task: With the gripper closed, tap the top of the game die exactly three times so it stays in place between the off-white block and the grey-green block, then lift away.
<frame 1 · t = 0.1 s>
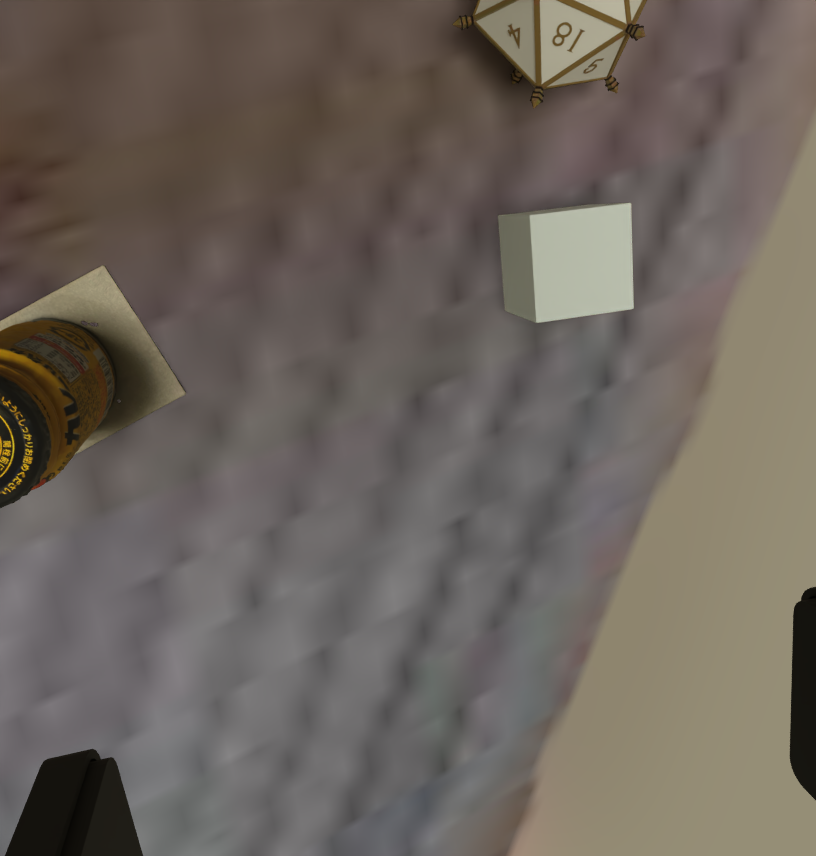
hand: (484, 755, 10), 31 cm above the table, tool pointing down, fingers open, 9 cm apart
game die: (531, 22, 37), on the table
grey-green block: (545, 258, 41), on the table
condiment: (72, 371, 38), on the table
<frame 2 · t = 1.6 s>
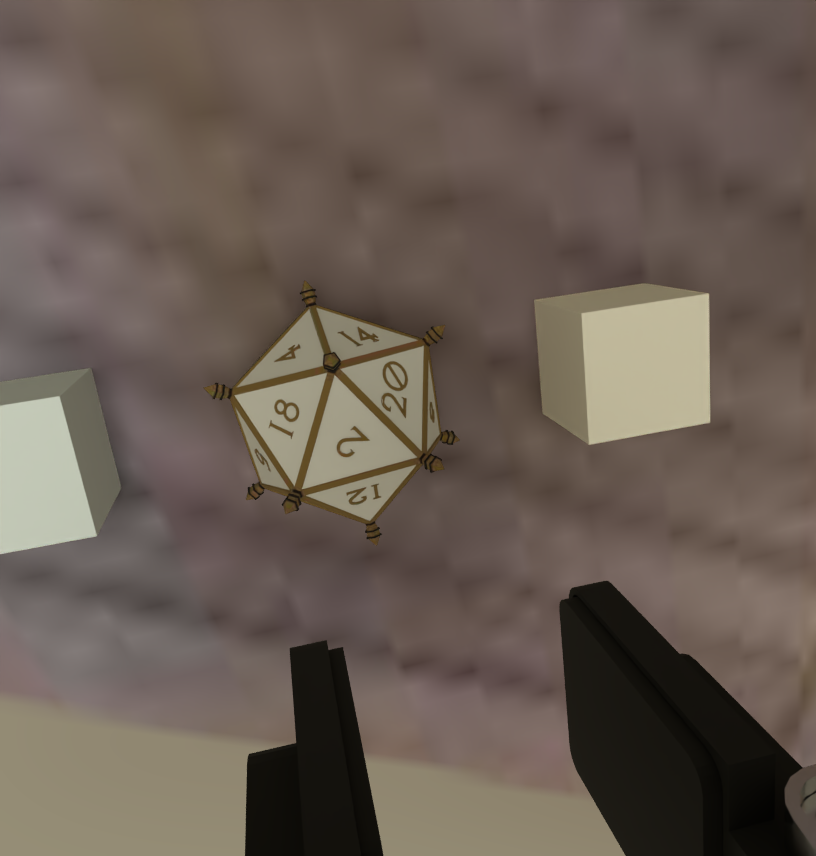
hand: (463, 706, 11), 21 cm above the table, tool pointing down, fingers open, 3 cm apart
game die: (331, 391, 31), on the table
grey-green block: (41, 439, 30), on the table
off-white block: (592, 348, 33), on the table
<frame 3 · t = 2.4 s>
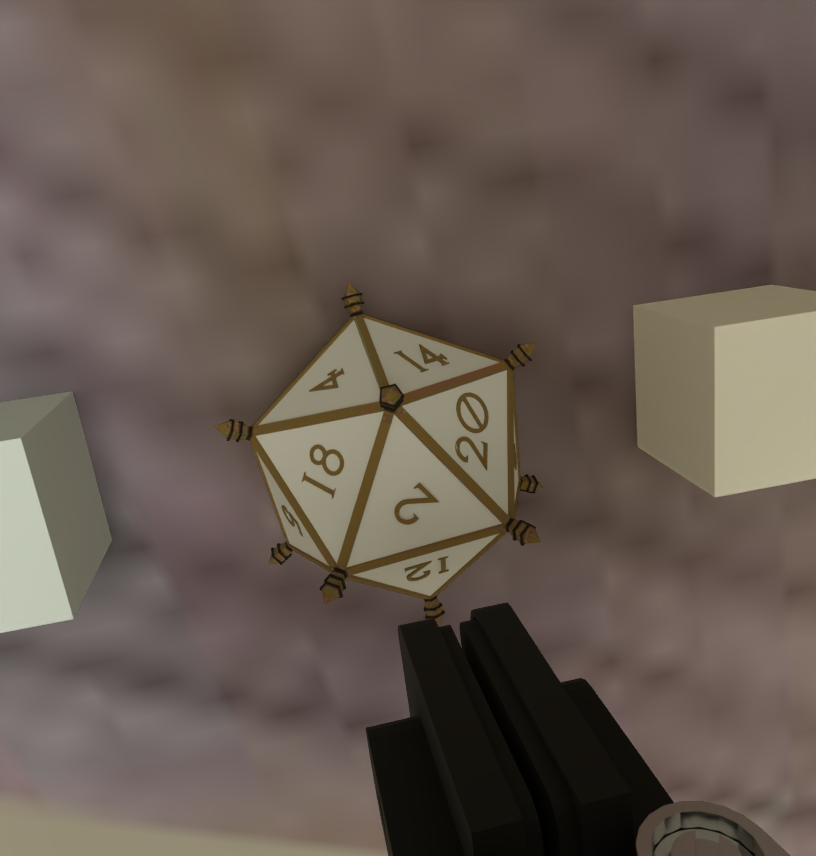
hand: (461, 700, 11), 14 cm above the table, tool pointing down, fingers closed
game die: (375, 419, 25), on the table
grey-green block: (10, 481, 23), on the table
off-white block: (702, 366, 26), on the table
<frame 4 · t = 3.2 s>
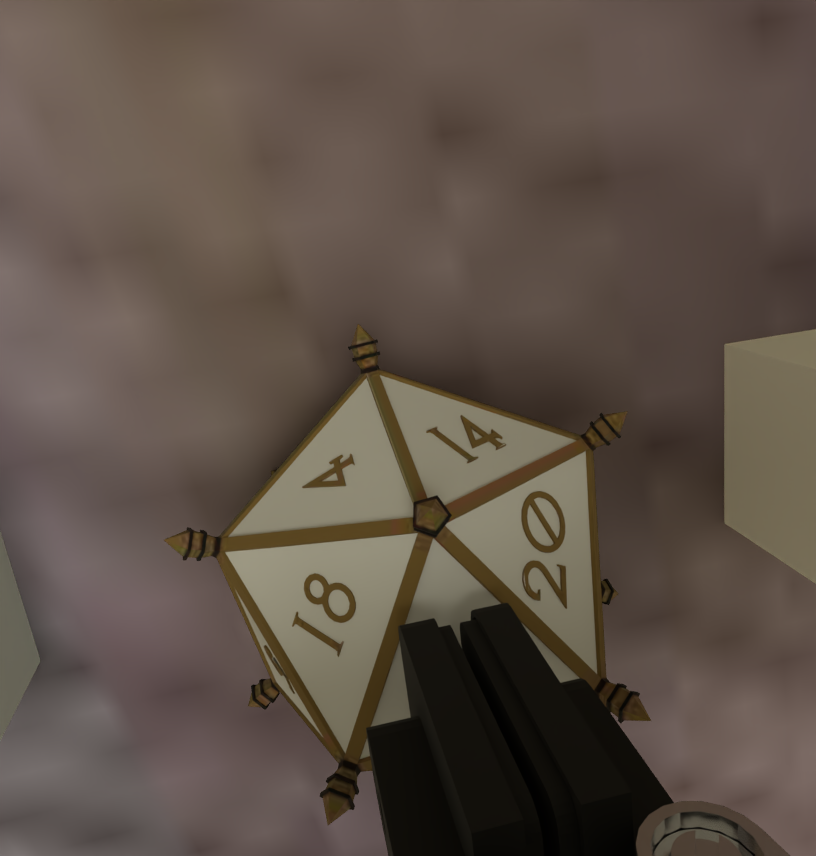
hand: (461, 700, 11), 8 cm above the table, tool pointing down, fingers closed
game die: (390, 495, 19), on the table, touching gripper
off-white block: (807, 420, 20), on the table
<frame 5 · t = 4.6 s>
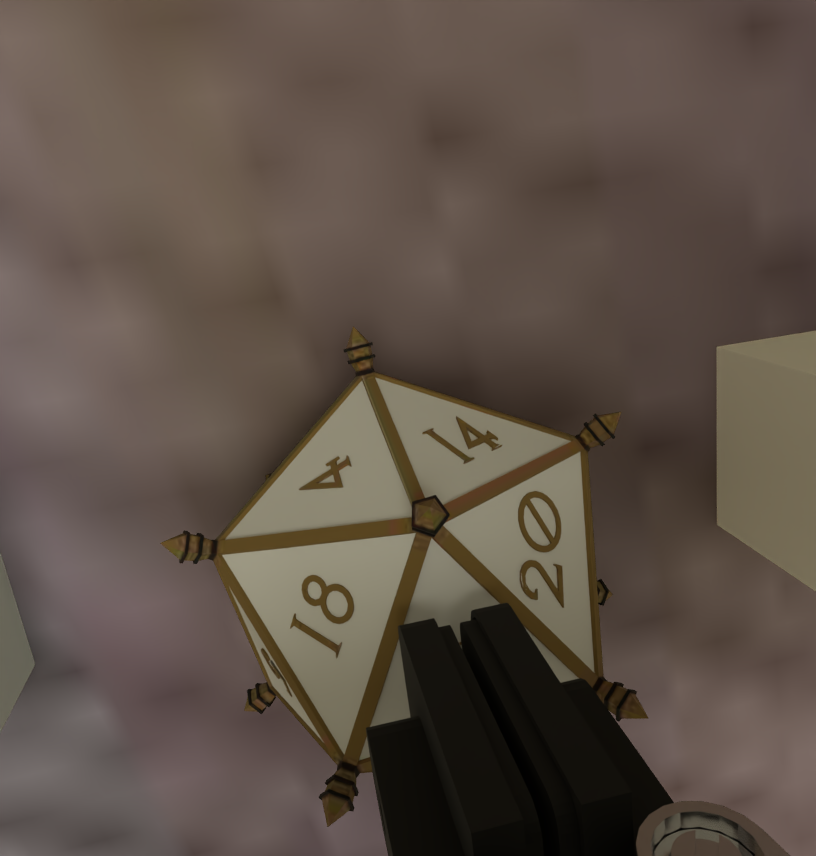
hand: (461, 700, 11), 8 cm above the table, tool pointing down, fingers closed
game die: (384, 499, 19), on the table
off-white block: (799, 422, 21), on the table
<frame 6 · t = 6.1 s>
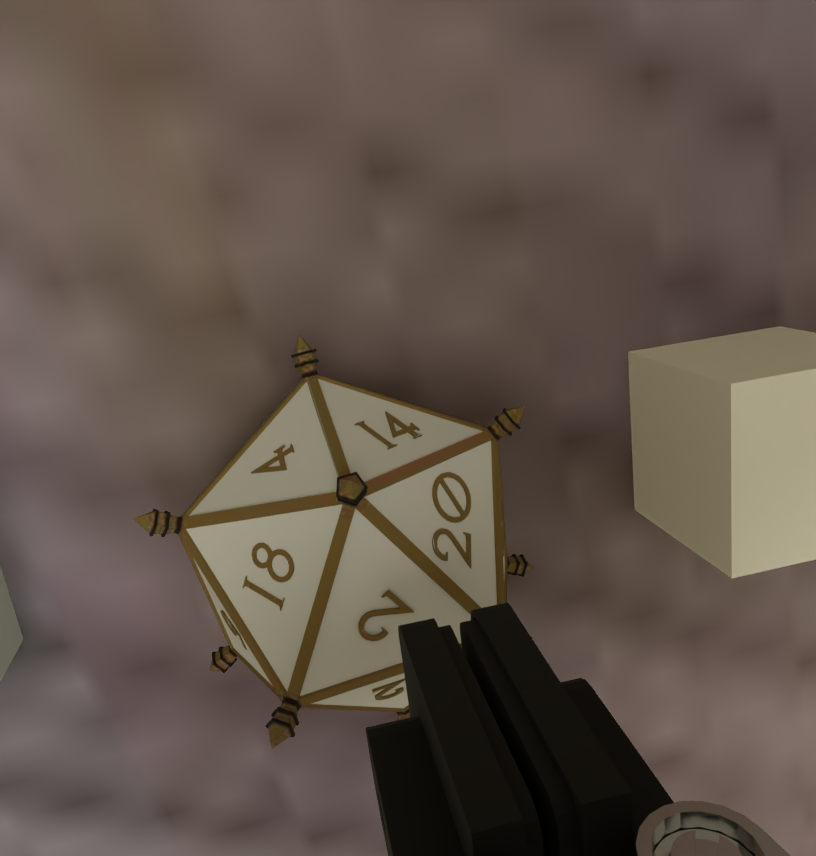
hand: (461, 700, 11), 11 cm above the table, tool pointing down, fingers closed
game die: (336, 488, 21), on the table
off-white block: (704, 418, 23), on the table
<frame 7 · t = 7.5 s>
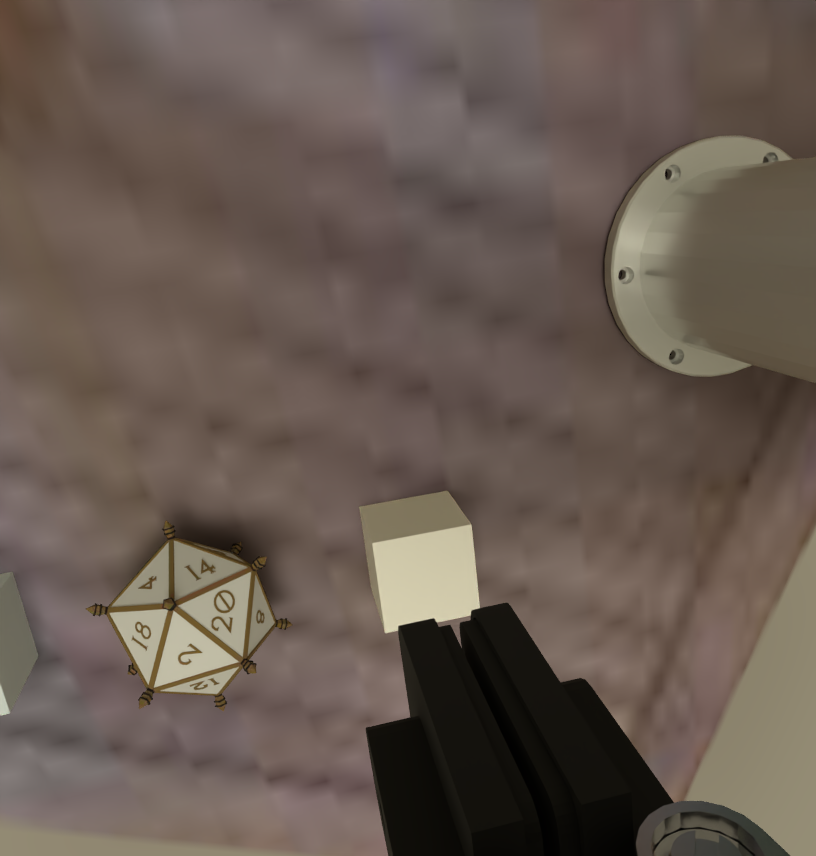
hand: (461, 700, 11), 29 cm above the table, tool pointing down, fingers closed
game die: (201, 578, 41), on the table
off-white block: (408, 539, 42), on the table
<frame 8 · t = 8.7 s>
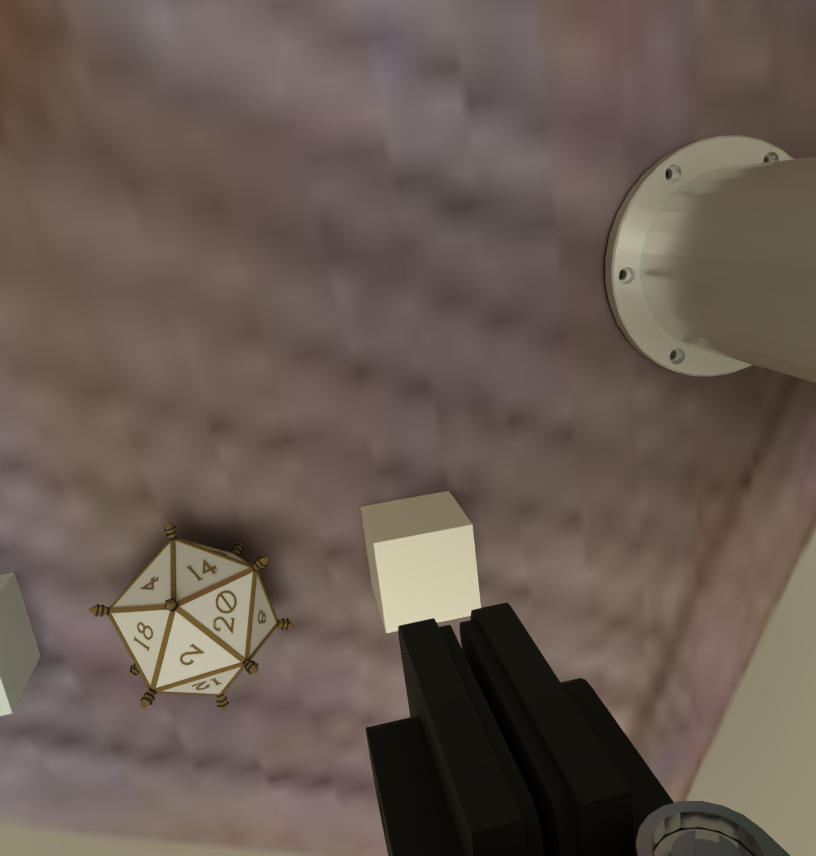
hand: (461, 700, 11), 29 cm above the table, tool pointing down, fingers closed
game die: (202, 579, 41), on the table
off-white block: (409, 539, 43), on the table
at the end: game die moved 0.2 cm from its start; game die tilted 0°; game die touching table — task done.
